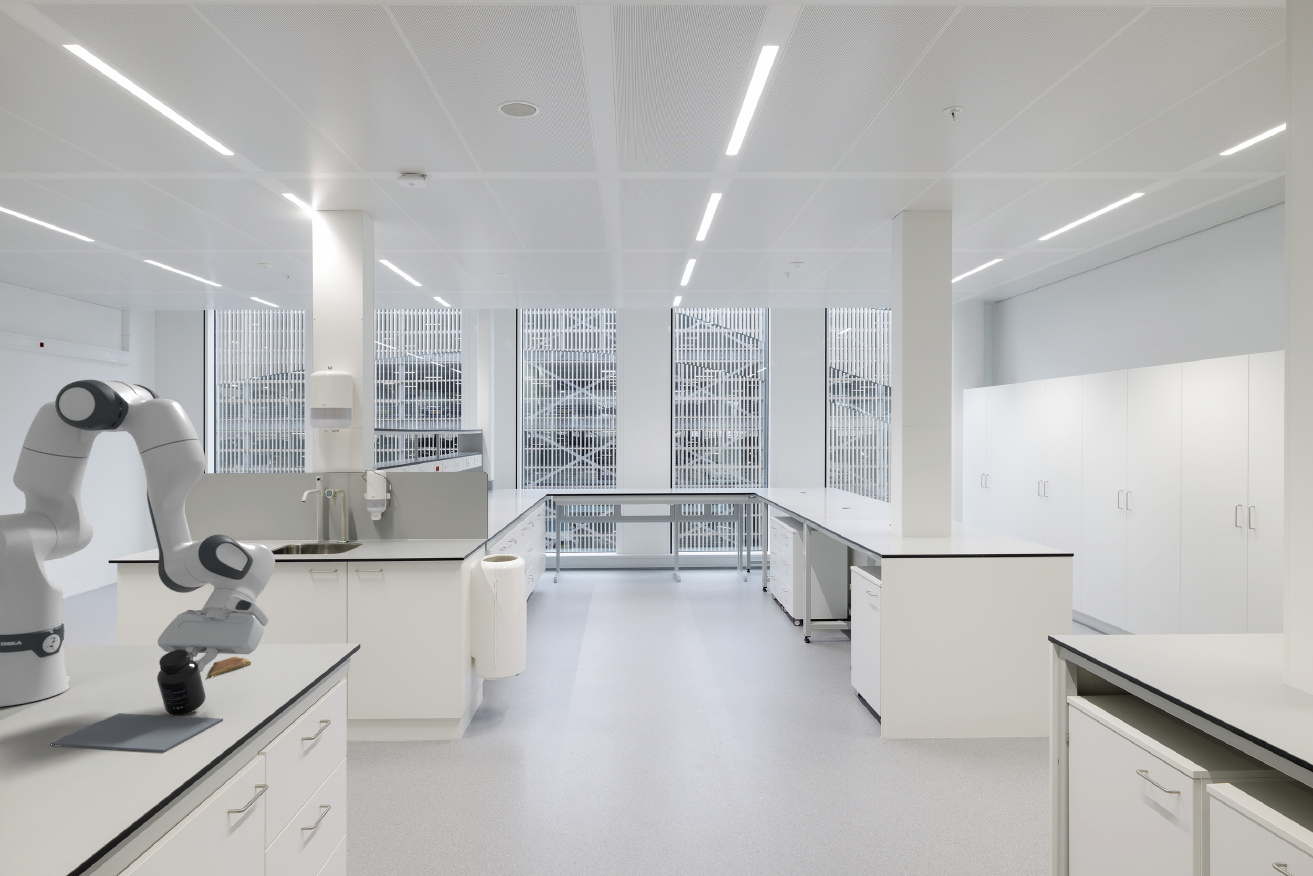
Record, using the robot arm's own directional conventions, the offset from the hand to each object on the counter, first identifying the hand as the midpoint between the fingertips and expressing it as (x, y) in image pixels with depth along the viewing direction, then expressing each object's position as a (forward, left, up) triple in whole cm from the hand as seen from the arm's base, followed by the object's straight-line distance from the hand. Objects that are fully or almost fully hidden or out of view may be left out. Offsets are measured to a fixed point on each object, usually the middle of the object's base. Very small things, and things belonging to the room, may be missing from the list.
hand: (190, 670), depth 137 cm
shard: (-10, +25, -9) cm, 29 cm away
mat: (0, -11, -8) cm, 14 cm away
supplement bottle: (0, -1, -7) cm, 7 cm away
